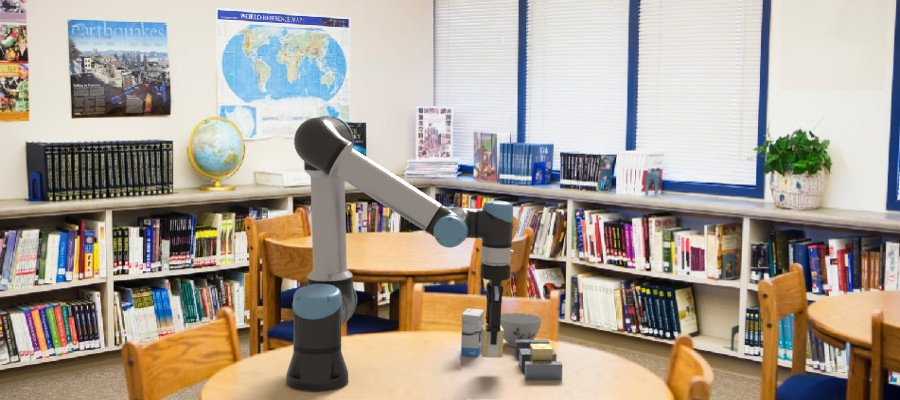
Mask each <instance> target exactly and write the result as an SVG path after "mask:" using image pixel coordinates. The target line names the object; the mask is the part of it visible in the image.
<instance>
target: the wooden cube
mask: <svg viewBox="0 0 900 400" xmlns="http://www.w3.org/2000/svg"><path fill="white" fill-rule="evenodd" d="M553 349H554V348H553V347H552V345H551V343H550V344H530V361H552V353H553Z"/></svg>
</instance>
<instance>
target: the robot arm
mask: <svg viewBox="0 0 900 400" xmlns="http://www.w3.org/2000/svg"><path fill="white" fill-rule="evenodd" d="M293 139H294V140H293V144H294V149H295V151H296V154H297V156H299V158H300V159H301V160H303V164H304V165H303V166H304V167H303V168H304V172H306V174H308V175H309V178H310V200H311V201H310V202H311V203H310V204H311V205H310V206H311V207H310V208H311V240H312V241H311V242H312V243H311V245H312V271H310V273H309V274H308V275H307V277H306V278H307V281H306V282H307V285H303V286H302V287H300V288H298V289H297V290H295V292H294V293H293V299H292V300H293V301H292V306H291V307H292V321H293V322H292V323H293V324H292V325H293V326H292V328H293V330H292V333H293V334H292V335H293V340H292V341H293V344H292V345H293V347H292V348H293V352H292V355H291V357H290V358H291V359H290V362H289V365H288V368H287V370H286V371H287V372H286V375H285V376H286V381H285V382H286V386H287V387H289V388H291V389H294V390H298V391H304V392H325V391H327V392H328V391H332V390H336V389H340V388H343V387H345V386H346V385H348V383H349V371H348V368H347V364H346V362H345V359H344V356H343V351H342V327H343V325H344V324H346V323H347V322H348V321H349V320H350V319H352V316H353V315H354V313H355V311H356V308H357V304H358V295H357V292H356V290H355V287H354V277H353V276H354V275H353V273H352V272H351V271H350V270H349V269H348V268H347V266H348V264H347V262H348V261H347V233H346V232H347V230H346V229H347V228H346V227H347V226H346V225H347V224H346V184H345V182H346V183H347V184H349V185H351V186H353V187H354V188H356V189H358V190H359V191H361V192H363V193H364V194H365V195H367V196H369V197H370V198H372V199H373V200H375V201H376V202H379V203H380V204H381V205H383V206H384V207H386V208H387V209H390V210H391V211H392V212H394V213H396V214H397V215H399V216H400V217H402V218H404V219H405V220H407V221H408V222H410V223H412V224H413V225H415V226H416V227H419V228H420V229H421V230H423V231H425V232H426V233H427V234H429V235H431V236H432V237H434V239H435V241H436V243H438V244H439V245H440V246H442V247H444V248H451V249H452V248H454V247H458V246H459V245H461V244H462V243H463V242H464V241H465V240H466V239H481V247H480V250H481V251H480V261H481V264H480V270H479V271H480V277H481V278H482V279H483V280H486V281H487V282H486V285H485V290H486V309H485V323H486V325H489V329H486V332H488V345H487V357H486V358H495V357H498V346H499V331H500V330H501V328H500V322H501V314H502V304H503V294H504V287H503V284H501V282H502V281H508V280H509V279H511V270H512V269H511V267H512V266H511V264H510V263H511V262H512V255H513V254H514V250H513V249H512V244H513V232H514V231H513V230H514V229H513V228H514V206H513V204H512V203H510V202H509V201H505V200H504V201H503V200H487V201H485V202H484V203H483V206H482V207H480V208H473V207H472V208H471V207H470V208H469V207H458V206H452V205H451V206H450V205H449V206H444V205H443V203H440V202H438V201H437V200H435V199H434V198H432V197H431V196H430V195H428V194H425V193H424V192H423V191H421V190H419V189H418V188H417V187H414V186H413V185H411V184H410V183H408V182H407V181H405V180H404V179H402V178H400V177H399V176H398V175H396V174H394V173H392V172H391V171H389V170H387V169H386V168H385V167H383V166H381V165H380V164H378V163H376V162H375V161H373V160H372V159H370V158H369V157H367V156H365V155H364V154H362V153H361V152H359V151H357V150H355V148H354V134H353V131H352V128H351V127H350V126H349V125H348V123H347V122H345V120H343V119H341V118H339V117H337V116H336V117H335V116H333V115H332V116H331V115H322V116H318V117H312V118H308V119H307V120H305V121H303V122H302V123H301V124H300V125H299V127H298V128H297V129H296V131H295V134H294V138H293Z"/></svg>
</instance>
